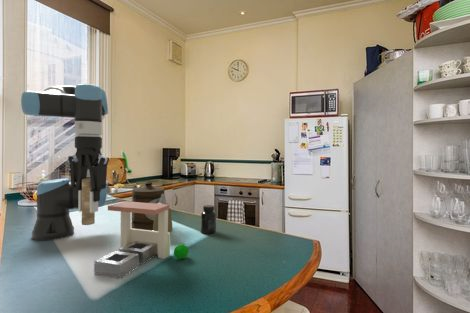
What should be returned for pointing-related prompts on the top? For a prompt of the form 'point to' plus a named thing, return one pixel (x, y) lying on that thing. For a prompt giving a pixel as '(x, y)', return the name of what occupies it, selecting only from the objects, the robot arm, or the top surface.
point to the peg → (87, 203)
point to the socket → (116, 264)
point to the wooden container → (145, 196)
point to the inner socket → (141, 250)
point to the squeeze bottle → (155, 224)
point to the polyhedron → (181, 251)
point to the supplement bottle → (208, 220)
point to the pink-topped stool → (144, 235)
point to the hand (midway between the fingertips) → (88, 211)
